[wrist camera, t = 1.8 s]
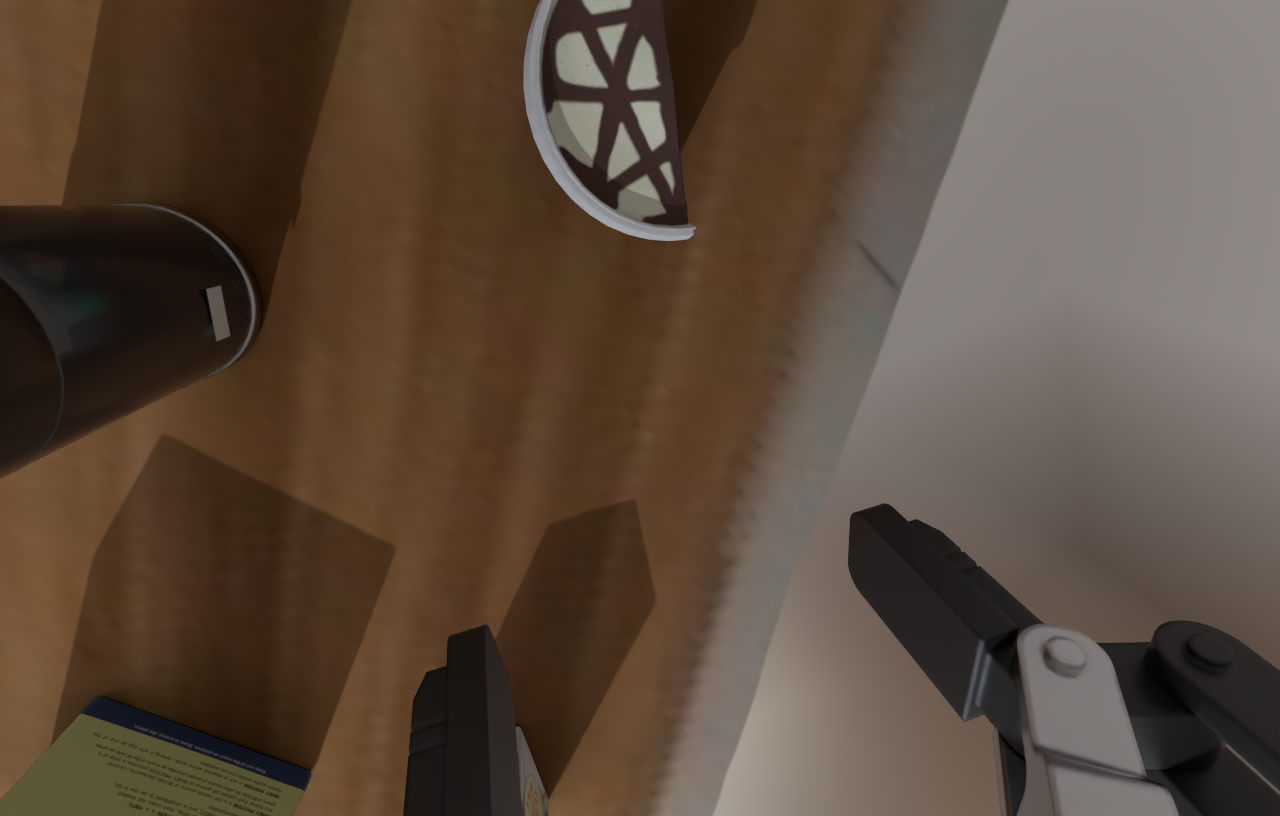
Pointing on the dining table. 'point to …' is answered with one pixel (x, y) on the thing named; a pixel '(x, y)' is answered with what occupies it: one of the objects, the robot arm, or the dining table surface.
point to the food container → (608, 112)
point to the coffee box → (530, 781)
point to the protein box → (150, 772)
